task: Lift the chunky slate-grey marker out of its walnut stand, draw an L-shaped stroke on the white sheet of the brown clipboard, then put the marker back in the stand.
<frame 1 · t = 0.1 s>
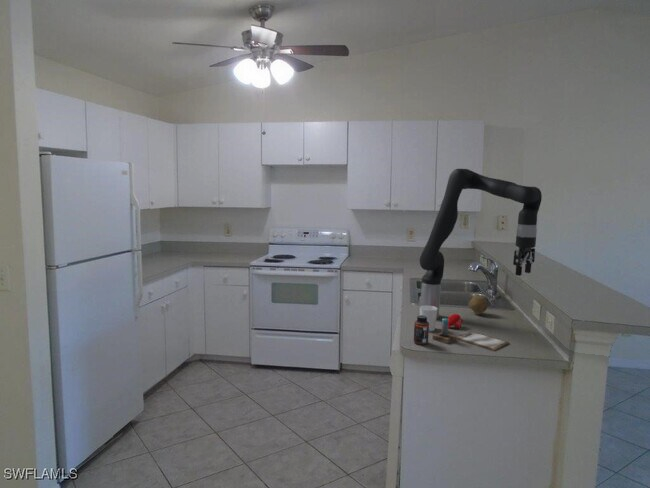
hand: (523, 274, 183), 29 cm above the counter, tool pointing down, fingers open, 8 cm apart
cap: (453, 327, 204), on the counter
marker stand: (444, 339, 187), on the counter
natural sponge: (477, 314, 226), on the counter
supplement bottle: (420, 343, 183), on the counter
marker: (444, 329, 187), in the marker stand
white cup: (427, 329, 201), on the counter
clipboard: (481, 341, 186), on the counter
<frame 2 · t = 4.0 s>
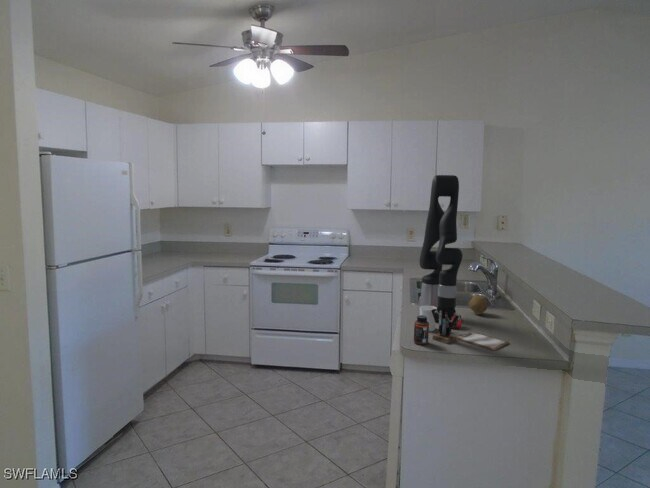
hand: (444, 334, 187), 2 cm above the counter, tool pointing down, fingers closed on marker, 2 cm apart
marker: (445, 329, 186), in the marker stand, touching gripper
everything else where it was.
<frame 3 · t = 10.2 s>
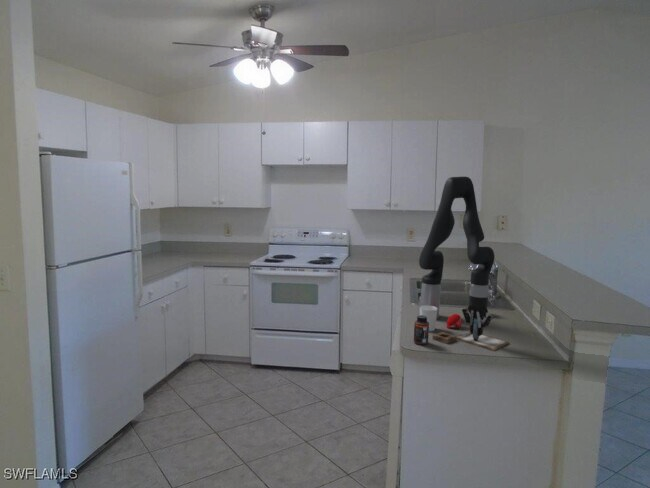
hand: (476, 334, 184), 3 cm above the counter, tool pointing down, fingers closed on marker, 2 cm apart
marker: (476, 329, 184), point 6 cm above the counter, touching gripper
everything else where it was.
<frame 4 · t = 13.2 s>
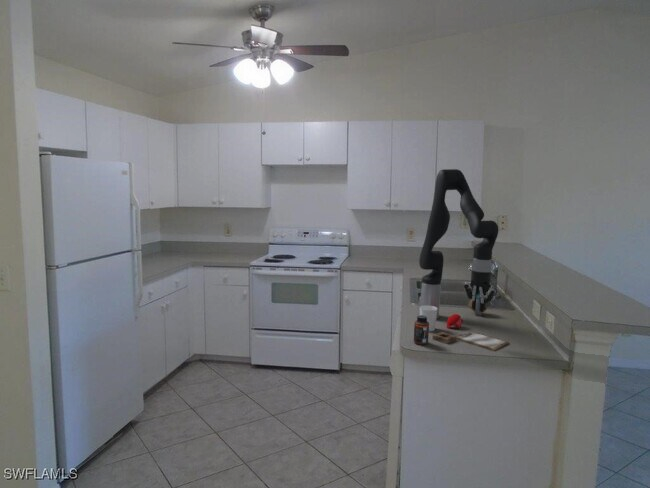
hand: (478, 310, 181), 14 cm above the counter, tool pointing down, fingers closed on marker, 2 cm apart
marker: (478, 305, 181), point 16 cm above the counter, touching gripper
everything else where it was.
when the fingers open (3 cm above the counter, at t = 16.3 s): marker stays where it is, resting in marker stand.
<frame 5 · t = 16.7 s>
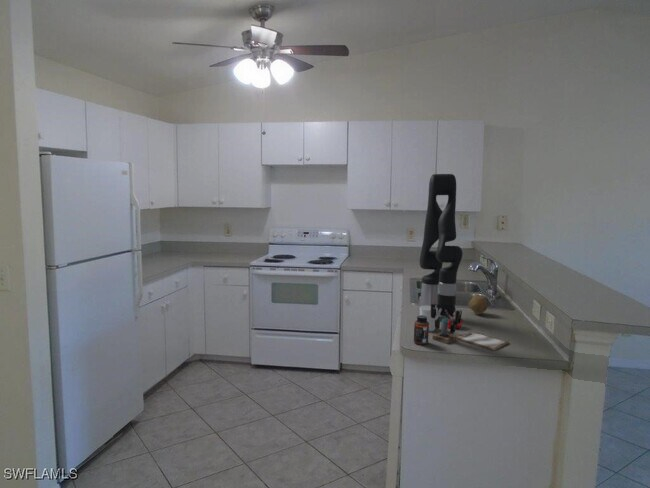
hand: (444, 330, 187), 4 cm above the counter, tool pointing down, fingers open, 6 cm apart
marker: (444, 329, 187), in the marker stand
everything else where it was.
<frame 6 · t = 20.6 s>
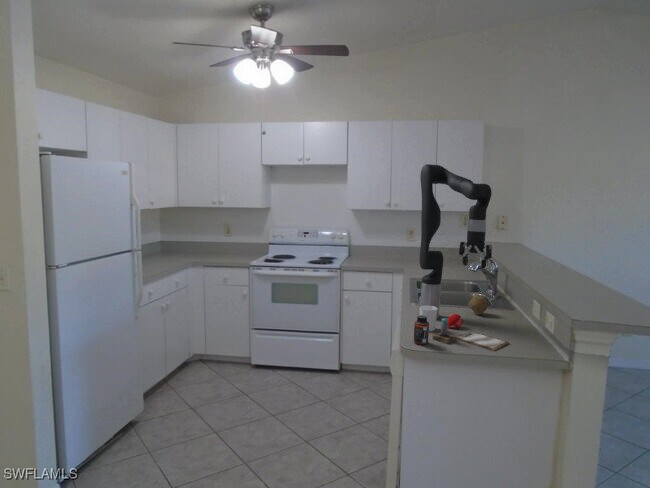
hand: (474, 266, 193), 30 cm above the counter, tool pointing down, fingers open, 8 cm apart
nothing on the counter moved.
at the end: marker 0.1 cm off-centre on the marker stand, point 4.5 cm above the marker stand's base; marker tilted 0°; the gripper is holding nothing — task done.
